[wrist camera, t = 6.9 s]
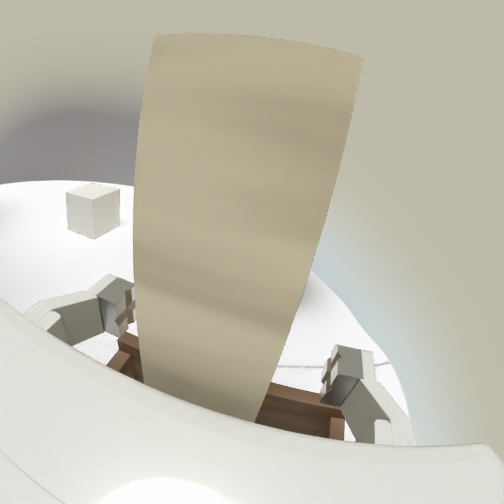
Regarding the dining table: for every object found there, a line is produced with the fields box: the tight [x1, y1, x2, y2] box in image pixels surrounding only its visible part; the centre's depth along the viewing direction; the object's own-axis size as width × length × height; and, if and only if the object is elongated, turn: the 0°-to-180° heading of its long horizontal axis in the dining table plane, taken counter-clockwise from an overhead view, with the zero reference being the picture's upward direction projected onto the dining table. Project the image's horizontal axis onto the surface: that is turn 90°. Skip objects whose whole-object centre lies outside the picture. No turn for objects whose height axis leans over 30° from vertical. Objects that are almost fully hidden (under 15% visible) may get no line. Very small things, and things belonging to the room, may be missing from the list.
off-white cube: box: [66, 183, 120, 239], centre depth 38 cm, size 6×6×6 cm
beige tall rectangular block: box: [133, 33, 363, 423], centre depth 11 cm, size 6×4×20 cm, turn 167°
